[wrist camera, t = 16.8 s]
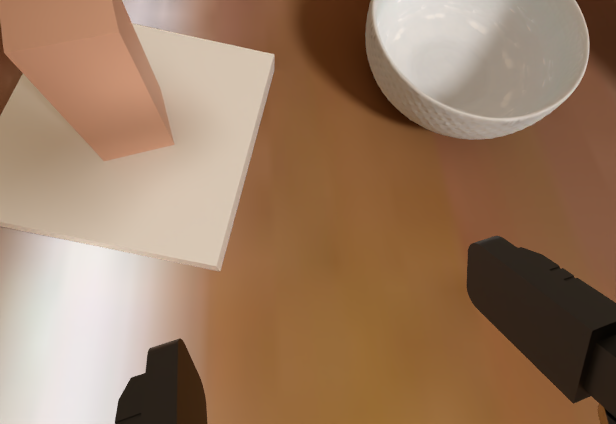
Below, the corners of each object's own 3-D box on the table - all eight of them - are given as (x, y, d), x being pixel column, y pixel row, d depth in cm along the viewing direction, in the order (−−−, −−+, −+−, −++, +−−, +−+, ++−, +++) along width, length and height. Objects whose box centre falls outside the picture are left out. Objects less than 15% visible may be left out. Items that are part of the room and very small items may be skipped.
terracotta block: (93, 103, 29) (-6, -30, 19) (160, 89, 30) (101, -45, 20) (104, 161, 28) (3, 52, 17) (174, 144, 29) (119, 31, 18)
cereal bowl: (363, -8, 38) (382, -83, 31) (528, 24, 38) (582, -43, 32) (341, 145, 32) (359, 93, 26) (535, 180, 33) (602, 138, 26)
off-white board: (69, 26, 34) (57, 7, 32) (274, 70, 34) (274, 54, 32) (-29, 220, 28) (-51, 211, 26) (220, 271, 28) (216, 266, 26)
